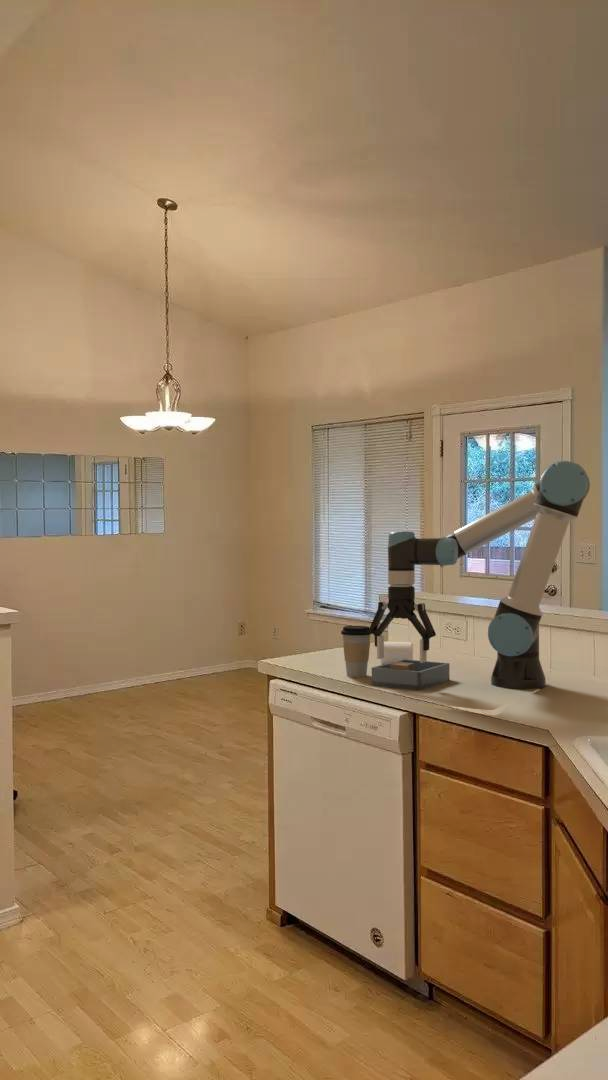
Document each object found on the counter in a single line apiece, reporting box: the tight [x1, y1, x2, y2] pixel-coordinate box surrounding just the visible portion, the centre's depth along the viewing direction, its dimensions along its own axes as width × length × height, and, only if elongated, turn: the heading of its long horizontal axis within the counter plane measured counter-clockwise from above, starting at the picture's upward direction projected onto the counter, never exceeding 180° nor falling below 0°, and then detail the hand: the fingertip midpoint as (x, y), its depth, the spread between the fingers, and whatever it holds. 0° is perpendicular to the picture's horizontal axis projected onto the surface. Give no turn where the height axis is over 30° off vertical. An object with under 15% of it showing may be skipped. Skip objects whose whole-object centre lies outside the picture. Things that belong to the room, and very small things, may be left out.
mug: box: [380, 641, 414, 665], centre depth 281 cm, size 12×10×8 cm
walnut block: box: [391, 662, 414, 671], centre depth 243 cm, size 5×5×5 cm
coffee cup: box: [340, 625, 373, 678], centre depth 259 cm, size 9×9×15 cm
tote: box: [371, 659, 450, 691], centre depth 248 cm, size 15×20×5 cm
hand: (401, 660), depth 243 cm, fingers open, 13 cm apart
